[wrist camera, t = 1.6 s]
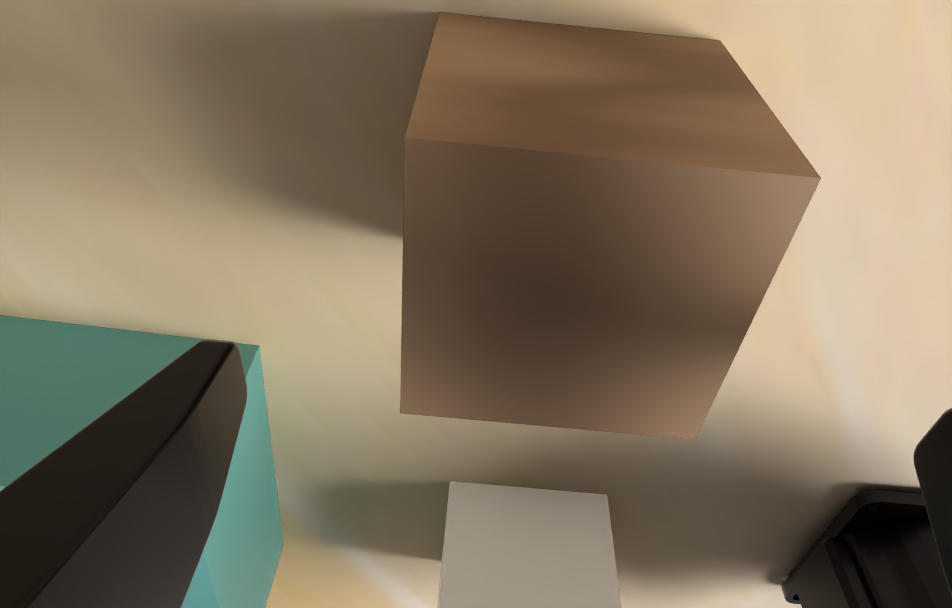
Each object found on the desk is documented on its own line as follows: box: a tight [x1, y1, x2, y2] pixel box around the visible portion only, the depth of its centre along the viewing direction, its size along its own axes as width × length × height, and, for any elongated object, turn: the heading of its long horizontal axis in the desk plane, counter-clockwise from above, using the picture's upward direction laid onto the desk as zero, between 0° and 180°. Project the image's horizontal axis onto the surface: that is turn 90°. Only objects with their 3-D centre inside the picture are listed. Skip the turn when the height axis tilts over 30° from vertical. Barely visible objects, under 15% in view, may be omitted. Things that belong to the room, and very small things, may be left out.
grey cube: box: [437, 481, 621, 608], centre depth 20 cm, size 5×5×5 cm
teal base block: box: [0, 315, 283, 608], centre depth 18 cm, size 10×10×5 cm
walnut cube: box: [400, 12, 821, 439], centre depth 11 cm, size 5×5×5 cm
